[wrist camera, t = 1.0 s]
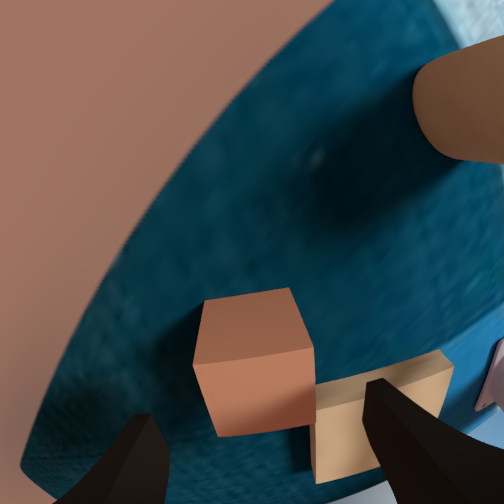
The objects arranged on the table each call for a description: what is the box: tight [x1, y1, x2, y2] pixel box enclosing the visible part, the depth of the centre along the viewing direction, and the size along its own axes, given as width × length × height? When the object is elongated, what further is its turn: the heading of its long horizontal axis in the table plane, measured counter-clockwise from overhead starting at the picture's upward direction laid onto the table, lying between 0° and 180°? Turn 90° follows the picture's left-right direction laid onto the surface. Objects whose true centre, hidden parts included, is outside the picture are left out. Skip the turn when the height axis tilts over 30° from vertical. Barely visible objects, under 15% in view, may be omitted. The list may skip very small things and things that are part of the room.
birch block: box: [310, 349, 454, 484], centre depth 17 cm, size 9×9×2 cm
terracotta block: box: [193, 287, 316, 437], centre depth 12 cm, size 4×4×5 cm
